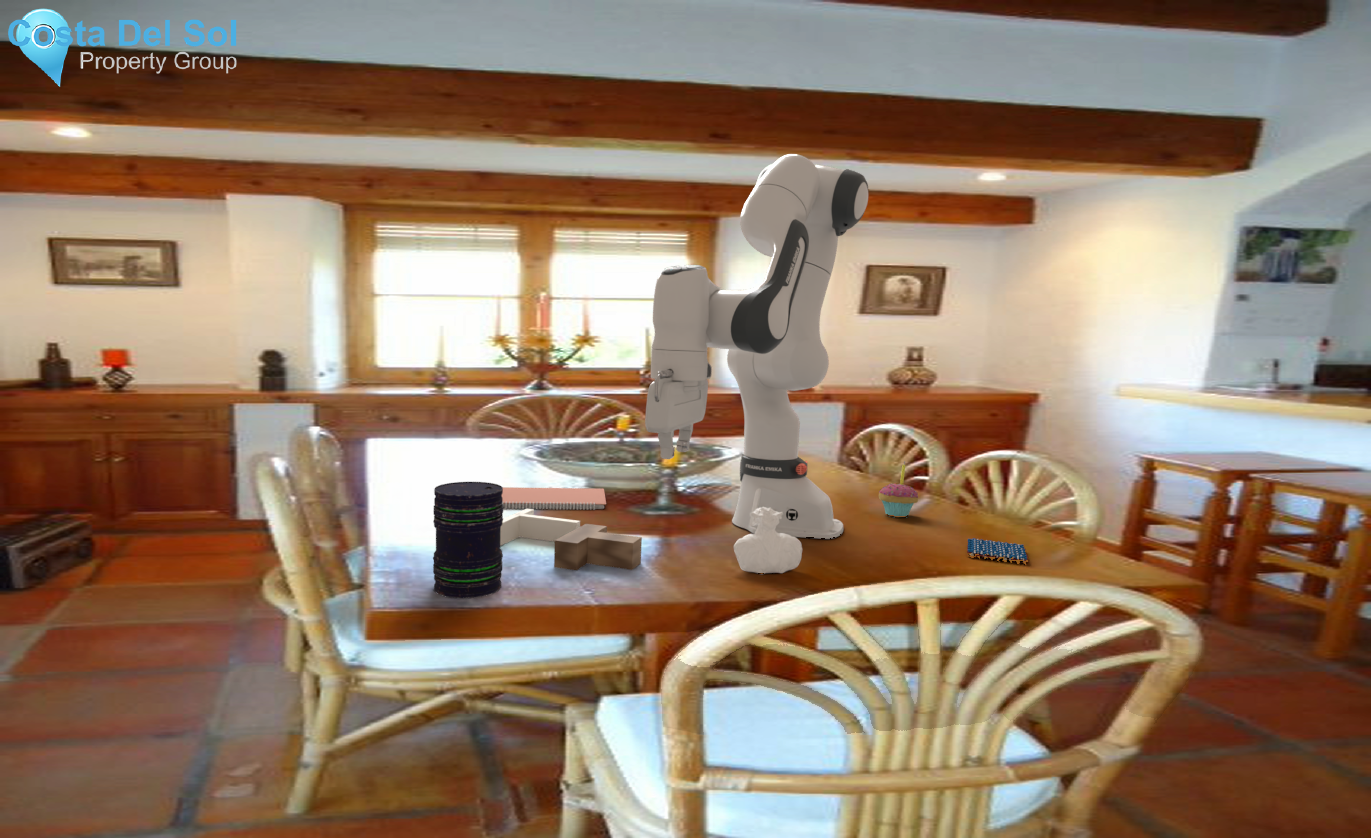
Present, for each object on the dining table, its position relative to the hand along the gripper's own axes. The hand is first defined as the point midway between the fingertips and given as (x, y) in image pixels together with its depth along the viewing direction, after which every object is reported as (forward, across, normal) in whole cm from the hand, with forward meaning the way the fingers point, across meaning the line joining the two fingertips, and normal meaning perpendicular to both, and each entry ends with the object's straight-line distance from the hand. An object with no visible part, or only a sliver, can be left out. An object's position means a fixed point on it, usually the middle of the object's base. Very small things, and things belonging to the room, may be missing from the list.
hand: (675, 454), depth 127 cm
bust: (+19, +8, -14) cm, 25 cm away
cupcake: (+19, +59, -33) cm, 70 cm away
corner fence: (+19, 0, +27) cm, 33 cm away
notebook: (+20, +36, +42) cm, 59 cm away
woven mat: (+20, +35, -52) cm, 66 cm away
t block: (+19, 0, +12) cm, 23 cm away
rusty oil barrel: (+19, -20, +25) cm, 37 cm away
